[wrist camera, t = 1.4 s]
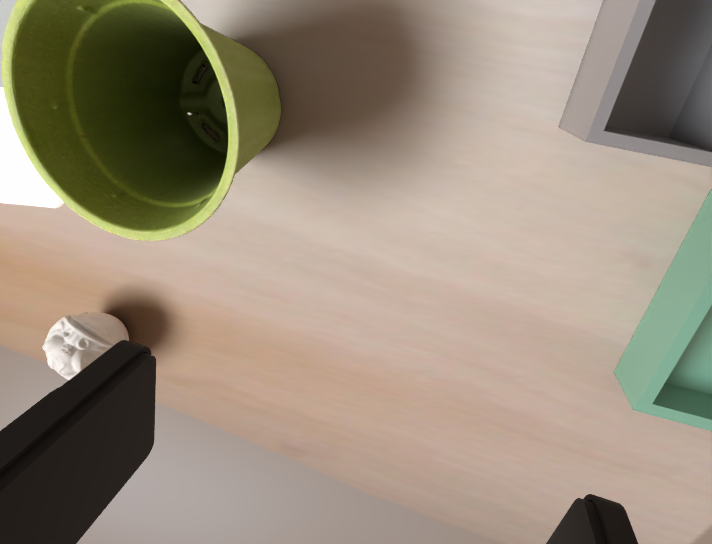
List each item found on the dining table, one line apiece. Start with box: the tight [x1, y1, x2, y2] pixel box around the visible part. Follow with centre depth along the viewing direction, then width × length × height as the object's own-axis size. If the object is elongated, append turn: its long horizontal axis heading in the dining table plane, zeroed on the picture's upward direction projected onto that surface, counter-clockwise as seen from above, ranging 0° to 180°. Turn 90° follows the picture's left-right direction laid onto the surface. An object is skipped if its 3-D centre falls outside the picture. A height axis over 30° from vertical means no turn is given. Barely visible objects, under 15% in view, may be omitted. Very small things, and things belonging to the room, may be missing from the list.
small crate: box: [558, 0, 712, 167], centre depth 21 cm, size 9×6×6 cm
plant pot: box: [2, 0, 281, 241], centre depth 25 cm, size 12×12×11 cm
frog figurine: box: [42, 313, 129, 380], centre depth 37 cm, size 6×7×7 cm
